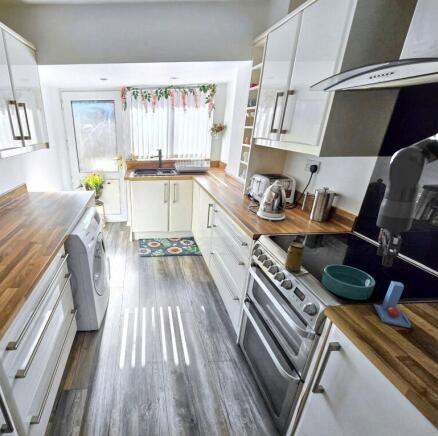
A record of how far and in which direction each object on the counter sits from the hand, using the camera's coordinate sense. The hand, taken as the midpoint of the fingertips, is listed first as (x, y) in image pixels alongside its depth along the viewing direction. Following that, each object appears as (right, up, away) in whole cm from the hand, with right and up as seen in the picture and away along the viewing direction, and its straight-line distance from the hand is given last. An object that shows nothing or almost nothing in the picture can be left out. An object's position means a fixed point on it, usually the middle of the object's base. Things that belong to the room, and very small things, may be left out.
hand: (383, 260), depth 78 cm
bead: (+3, -17, 0) cm, 17 cm away
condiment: (-12, -9, +29) cm, 33 cm away
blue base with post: (+4, -19, +1) cm, 19 cm away
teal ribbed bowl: (0, -14, +16) cm, 21 cm away
